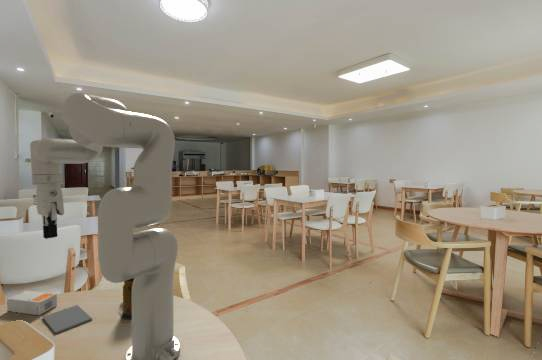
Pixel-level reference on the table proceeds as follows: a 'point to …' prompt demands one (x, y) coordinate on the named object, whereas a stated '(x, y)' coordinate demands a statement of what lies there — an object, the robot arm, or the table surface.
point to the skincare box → (32, 302)
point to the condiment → (127, 301)
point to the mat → (66, 319)
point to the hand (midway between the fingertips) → (50, 237)
